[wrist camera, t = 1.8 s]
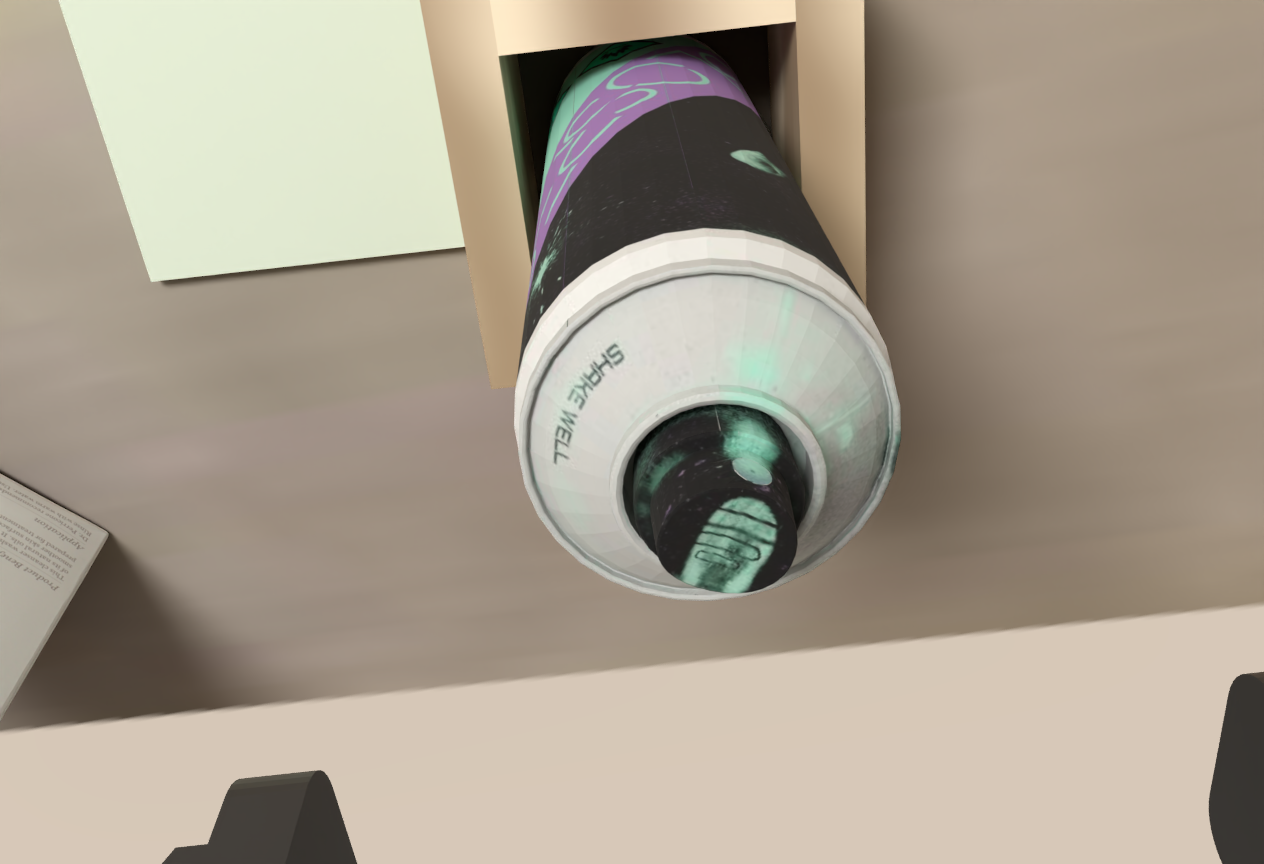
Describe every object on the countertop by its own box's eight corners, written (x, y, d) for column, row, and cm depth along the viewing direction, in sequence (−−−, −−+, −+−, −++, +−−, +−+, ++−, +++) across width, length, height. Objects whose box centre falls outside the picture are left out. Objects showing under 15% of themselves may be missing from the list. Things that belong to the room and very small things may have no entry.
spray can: (733, 7, 30) (944, 289, 12) (764, 207, 32) (972, 681, 15) (529, 51, 30) (441, 388, 12) (575, 246, 33) (556, 752, 15)
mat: (403, -106, 28) (400, -105, 28) (467, 241, 32) (465, 246, 32) (45, -63, 28) (38, -61, 28) (155, 276, 33) (151, 281, 32)
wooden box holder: (821, -80, 29) (863, -61, 24) (830, 277, 33) (866, 348, 29) (444, -36, 29) (418, -8, 24) (504, 313, 33) (491, 389, 29)
